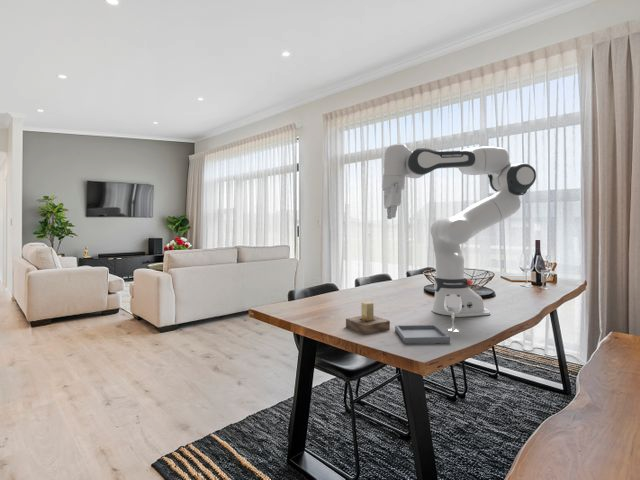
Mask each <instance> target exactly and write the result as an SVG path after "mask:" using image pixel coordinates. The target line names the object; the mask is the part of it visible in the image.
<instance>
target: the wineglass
mask: <svg viewBox="0 0 640 480" xmlns="http://www.w3.org/2000/svg"><path fill="white" fill-rule="evenodd" d="M444 307H445V310H446V311H447V312H448V313H450V314H452V316H451V321H452V322H451V327H447V328H445V330H446V331H447V332H451V333H457V332H458V333H459V332H460V331H461V330H460V328H455V325H454V321H455V317H454V314H457V313H459V312H460V311H461V309H462V301H461V297H460V295H455V294H448V295H446V297H445V302H444Z"/></svg>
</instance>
